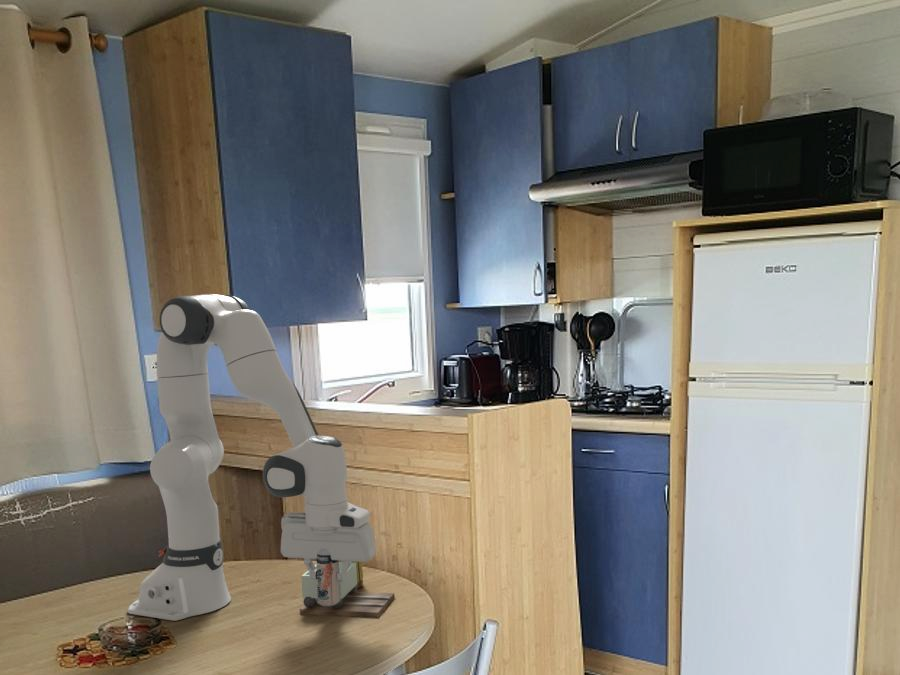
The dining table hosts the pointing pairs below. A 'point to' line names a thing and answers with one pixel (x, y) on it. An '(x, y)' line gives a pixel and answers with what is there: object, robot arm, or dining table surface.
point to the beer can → (327, 579)
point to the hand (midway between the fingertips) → (328, 579)
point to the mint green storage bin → (345, 586)
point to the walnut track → (354, 605)
